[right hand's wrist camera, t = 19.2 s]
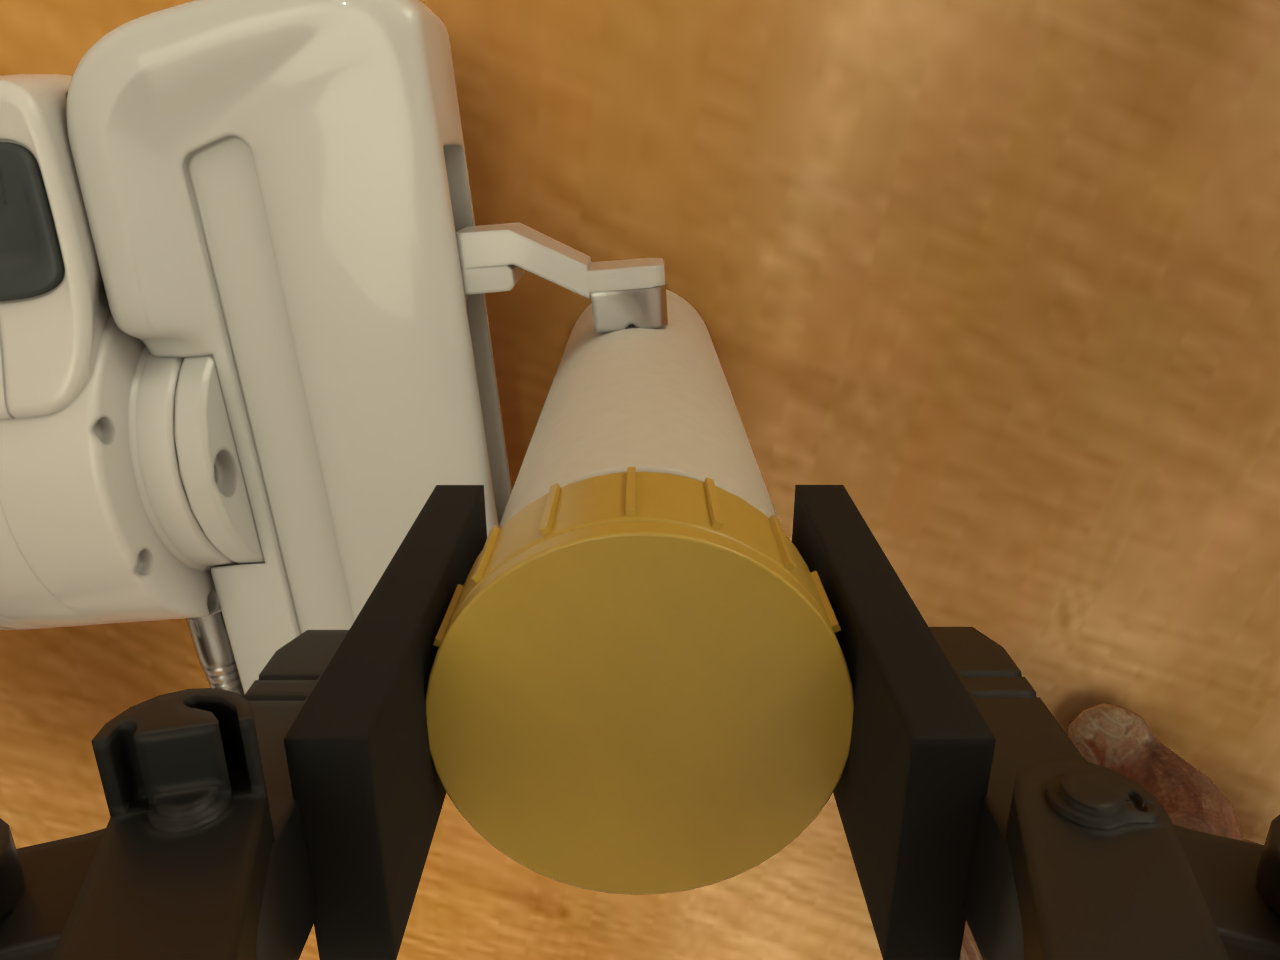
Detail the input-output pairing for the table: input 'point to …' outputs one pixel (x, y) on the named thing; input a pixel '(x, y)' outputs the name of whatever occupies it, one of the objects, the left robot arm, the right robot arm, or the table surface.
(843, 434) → the table surface
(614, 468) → the jar
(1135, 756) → the sculpture
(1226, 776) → the table surface
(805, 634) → the lid
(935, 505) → the table surface
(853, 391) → the table surface
